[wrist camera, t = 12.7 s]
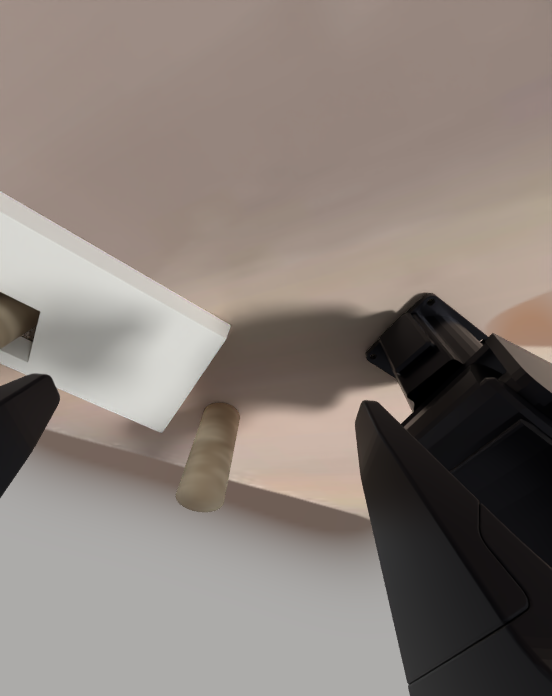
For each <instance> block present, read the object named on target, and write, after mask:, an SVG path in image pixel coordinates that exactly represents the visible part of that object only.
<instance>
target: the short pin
mask: <svg viewBox="0 0 552 696" xmlns="http://www.w3.org/2000/svg"><path fill="white" fill-rule="evenodd" d="M239 420H240V415H239V412H238V411H237V410H236V409H235V408H234V407H233V406H231V405H229V404H226V403H213V404H210V405H209V406H207V407H206V408H205V410H204V413H203V416H202V419H201V422H200V424H199V427H198V430H197V433H196V436H195V439H194V442H193V445H192V448H191V451H190V454H189V457H188V460H187V463H186V466H185V469H184V472H183V475H182V478H181V481H180V484H179V487H178V490H177V493H176V499H177V501H178V502H179V504H181V505H182V506H183V507H185V508H187V509H190V510H192V511H197V512H212V511H216V510H218V509H220V508H221V507H222V506H223V504H224V498H225V493H226V488H227V483H228V478H229V472H230V467H231V462H232V457H233V451H234V446H235V441H236V436H237V430H238V425H239Z"/></svg>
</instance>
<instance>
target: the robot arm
mask: <svg viewBox="0 0 552 696" xmlns="http://www.w3.org/2000/svg"><path fill="white" fill-rule="evenodd" d="M430 299H433V300H432V302H430V303H427V302H428V300H430ZM482 339H483V340H482ZM480 340H482V341H481V342H479V341H480ZM372 354H375V355H374V356H372V357H371V355H372ZM366 358H367V360H368V361H369V362H371V363H373V364H374V365H376V366H377V367H379V368H380V369H382V370H383V371H385V372H387V373H388V374H390V375H391V376H393V377H394V378H396V379H397V381H398V383H399V385H400V387H401V389H402V391H403V393H404V395H405V397H406V399H407V402H408V404H409V406H410V408H411V410H412V412H413V413H412V414H411V415H410V416H409V417H408V418H407V419H406V420H405V421H403V422H402V423H401V424H400V423H399V422H398V421H397V420H396V419H395V418H394V417H393V416H392V415H391V414H390V413H389V412H388V411H387V410H386V409H385V408H384V407H383V406H381V405H380V404H379V403H378V402H377V401H368V400H364V401H362V403H361V405H360V408H359V411H358V414H357V417H356V421H355V431H356V440H357V449H358V458H359V467H360V475H361V480H362V485H363V490H364V494H365V499H366V503H367V507H368V512H369V516H370V521H371V525H372V529H373V534H374V538H375V543H376V547H377V551H378V556H379V560H380V565H381V569H382V573H383V578H384V582H385V587H386V591H387V595H388V600H389V604H390V608H391V613H392V617H393V622H394V626H395V631H396V635H397V639H398V643H399V648H400V653H401V657H402V661H403V665H404V670H405V675H406V679H407V683H408V684H409V685H408V689H409V693H410V696H552V364H551V363H550V362H548V361H546V360H544V359H542V358H540V357H538V356H536V355H534V354H532V353H530V352H528V351H527V350H525V349H523V348H521V347H519V346H517V345H515V344H513V343H511V342H509V341H507V340H505V339H504V338H502V337H499V336H498V335H496V334H494V333H492V334H491V335H490V336H489V337H488V336H487V335H486V334H484V333H483V332H482V331H481V330H479V329H478V328H477V327H475V326H474V325H473V324H472V323H470V322H469V321H468V320H467V319H465V318H464V317H463V316H461V315H460V314H459V313H458V312H456V311H455V310H454V309H453V308H451V307H450V306H449V305H448V304H446V303H445V302H444V301H442V300H441V299H440V298H439V297H437V296H436V295H435V294H433V293H428V294H426V295H425V296H423V297H422V298H421V299H420V300H419V301H418V302H417V303H416V304H415V305H414V306H413V307H412V308H411V309H410V310H409V311H408V312H407V313H405V314H403V315H402V316H401V317H400V318H399V319H398V320H397V321H396V322H395V323H394V324H393V325H392V326H391V327H390V328H389V329H388V330H387V331H386V332H385V333H384V334H383V335H381V336H380V339H379V340H378V341H377V342H376V343H375V344H374V345H373V346H372V347H371V348H370V349H369V350H368V351H367V352H366ZM59 401H60V395H59V393H58V390H57V388H56V386H55V383H54V381H53V379H52V377H51V376H50V375H48V374H39V373H33V374H29V375H27V376H24V377H22V378H19V379H17V380H14V381H12V382H10V383H7V384H5V385H2V386H0V498H1V496H2V495H3V493H4V492H5V491H6V489H7V488H8V486H9V485H10V483H11V482H12V480H13V479H14V477H15V476H16V474H17V473H18V472H19V470H20V469H21V467H22V466H23V464H24V463H25V461H26V460H27V458H28V457H29V455H30V454H31V452H32V451H33V449H34V447H35V446H36V444H37V442H38V440H39V438H40V437H41V435H42V433H43V431H44V429H45V428H46V426H47V424H48V422H49V420H50V419H51V417H52V415H53V413H54V411H55V410H56V408H57V406H58V404H59Z"/></svg>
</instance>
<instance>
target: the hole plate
mask: <svg viewBox="0 0 552 696" xmlns="http://www.w3.org/2000/svg"><path fill="white" fill-rule="evenodd" d="M0 292H2V293H4V294H6V295H8V296H10V297H12V298H14V299H16V300H18V301H20V302H22V303H24V304H26V305H28V306H30V307H32V308H34V309H36V310H38V311H40V315H39V320H38V324H37V328H36V332H35V336H34V340H33V342H32V341H30V340H28V339H26V338H23V337H21V336H20V337H18V338H17V339H15V340H14V341H12V342H10V343H9V344H7V345H6V346H4V347H3V348H1V349H0V364H2V365H5V366H7V367H9V368H12V369H14V370H16V371H19V372H21V373H23V374H26V375H29V374H33V373H39V374H48V375H50V376H51V377H52V379H53V381H54V383H55V386H56V388H58V389H60V390H63V391H65V392H67V393H70V394H72V395H74V396H77V397H79V398H81V399H83V400H86V401H88V402H90V403H93V404H95V405H97V406H100V407H102V408H104V409H107V410H109V411H111V412H114V413H116V414H118V415H121V416H123V417H125V418H128V419H130V420H132V421H134V422H137V423H139V424H141V425H144V426H146V427H148V428H151V429H153V430H155V431H158V432H160V433H162V432H163V431H164V429H165V428H166V427H167V425H168V424H169V422H170V421H171V419H172V418H173V416H174V415H175V413H176V412H177V410H178V409H179V408H180V406H181V405H182V403H183V402H184V400H185V399H186V397H187V396H188V394H189V393H190V391H191V390H192V388H193V387H194V386H195V384H196V383H197V381H198V380H199V378H200V377H201V375H202V374H203V372H204V371H205V369H206V368H207V367H208V365H209V364H210V362H211V361H212V359H213V358H214V356H215V355H216V353H217V352H218V350H219V349H220V347H221V346H222V345H223V343H224V342H225V340H226V338H227V336H228V333H229V330H230V327H231V325H230V324H228V323H226V322H225V321H223V320H221V319H219V318H218V317H216V316H214V315H213V314H211V313H209V312H207V311H206V310H204V309H202V308H201V307H199V306H197V305H195V304H194V303H192V302H190V301H188V300H187V299H185V298H183V297H182V296H180V295H178V294H176V293H175V292H173V291H171V290H170V289H168V288H166V287H164V286H163V285H161V284H159V283H158V282H156V281H154V280H152V279H151V278H149V277H147V276H145V275H144V274H142V273H140V272H139V271H137V270H135V269H133V268H132V267H130V266H128V265H127V264H125V263H123V262H121V261H120V260H118V259H116V258H115V257H113V256H111V255H109V254H108V253H106V252H104V251H102V250H101V249H99V248H97V247H96V246H94V245H92V244H90V243H89V242H87V241H85V240H84V239H82V238H80V237H78V236H77V235H75V234H73V233H71V232H70V231H68V230H66V229H65V228H63V227H61V226H59V225H58V224H56V223H54V222H53V221H51V220H49V219H47V218H46V217H44V216H42V215H41V214H39V213H37V212H35V211H34V210H32V209H30V208H28V207H27V206H25V205H23V204H22V203H20V202H18V201H16V200H15V199H13V198H11V197H10V196H8V195H6V194H4V193H3V192H1V191H0Z"/></svg>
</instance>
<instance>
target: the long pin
mask: <svg viewBox="0 0 552 696" xmlns="http://www.w3.org/2000/svg"><path fill="white" fill-rule="evenodd" d="M39 315H40V311H38V310H36V309H34V308H32V307H30V306H28V305H26V304H24V303H22V302H20V301H18V300H16V299H14V298H12V297H10V296H8V295H6V294H4V293H2V292H0V349H1V348H3V347H4V346H6V345H7V344H9V343H10V342H12V341H14V340H15V339H17V338H18V337H20V336H21V335H23V334H24V333H26V332H27V331H29V330H30V329H32V328H33V327H35V326H36V325H37V324H38V320H39Z"/></svg>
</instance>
